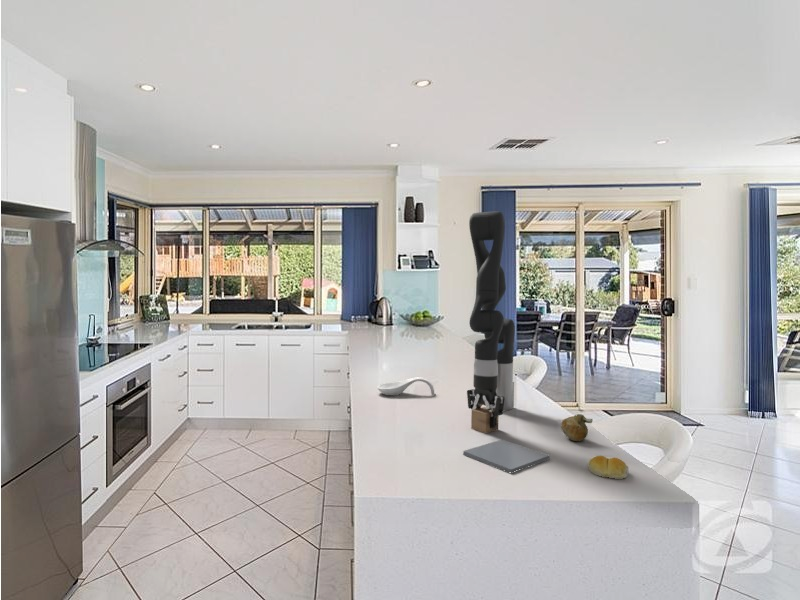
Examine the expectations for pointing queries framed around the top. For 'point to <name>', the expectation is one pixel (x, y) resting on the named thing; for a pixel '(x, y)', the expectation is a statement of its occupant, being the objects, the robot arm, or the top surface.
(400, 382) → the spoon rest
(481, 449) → the slate plate
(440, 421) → the top surface
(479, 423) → the walnut block
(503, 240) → the robot arm
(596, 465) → the bread roll
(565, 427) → the onion
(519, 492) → the top surface
